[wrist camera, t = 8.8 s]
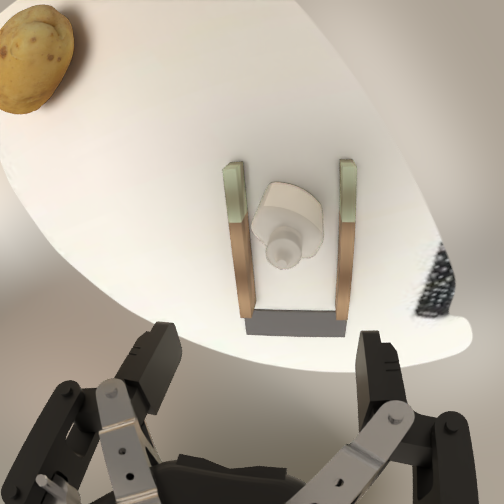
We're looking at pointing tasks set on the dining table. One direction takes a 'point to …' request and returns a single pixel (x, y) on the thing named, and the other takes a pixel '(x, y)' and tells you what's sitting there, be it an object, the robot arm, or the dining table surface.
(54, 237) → the dining table surface
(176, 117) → the dining table surface
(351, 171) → the walnut channel
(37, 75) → the potato
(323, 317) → the plate
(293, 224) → the eye dropper bottle
